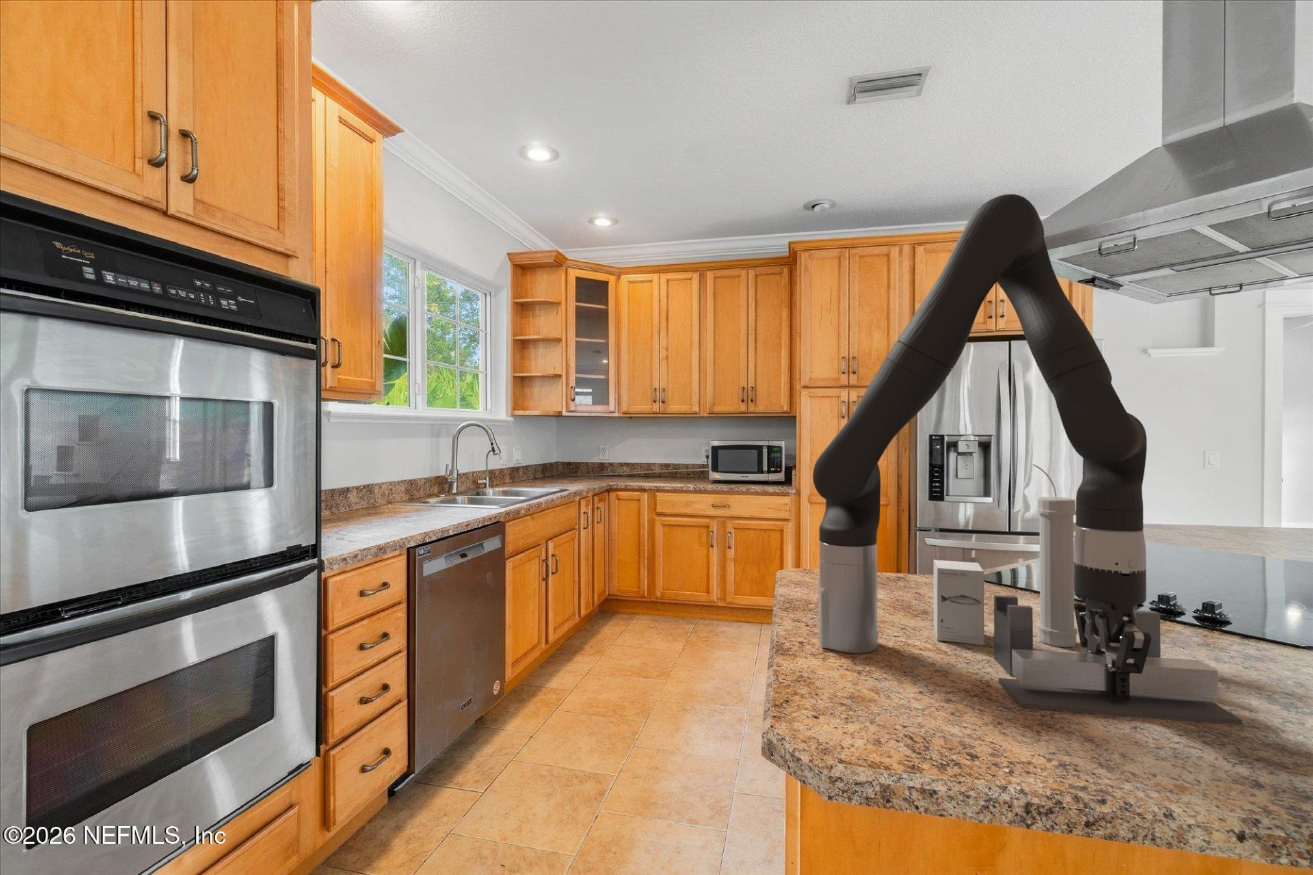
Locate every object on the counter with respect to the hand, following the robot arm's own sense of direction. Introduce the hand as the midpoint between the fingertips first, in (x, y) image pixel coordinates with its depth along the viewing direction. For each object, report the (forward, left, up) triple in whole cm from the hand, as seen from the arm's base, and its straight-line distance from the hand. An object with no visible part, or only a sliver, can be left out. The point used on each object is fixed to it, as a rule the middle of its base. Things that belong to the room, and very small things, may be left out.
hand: (1109, 692), depth 77 cm
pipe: (+3, +23, -1) cm, 23 cm away
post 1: (-8, +10, -1) cm, 13 cm away
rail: (0, 0, +1) cm, 1 cm away
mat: (0, 0, -1) cm, 1 cm away
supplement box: (-12, +23, -1) cm, 26 cm away
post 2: (+8, +10, -1) cm, 13 cm away
